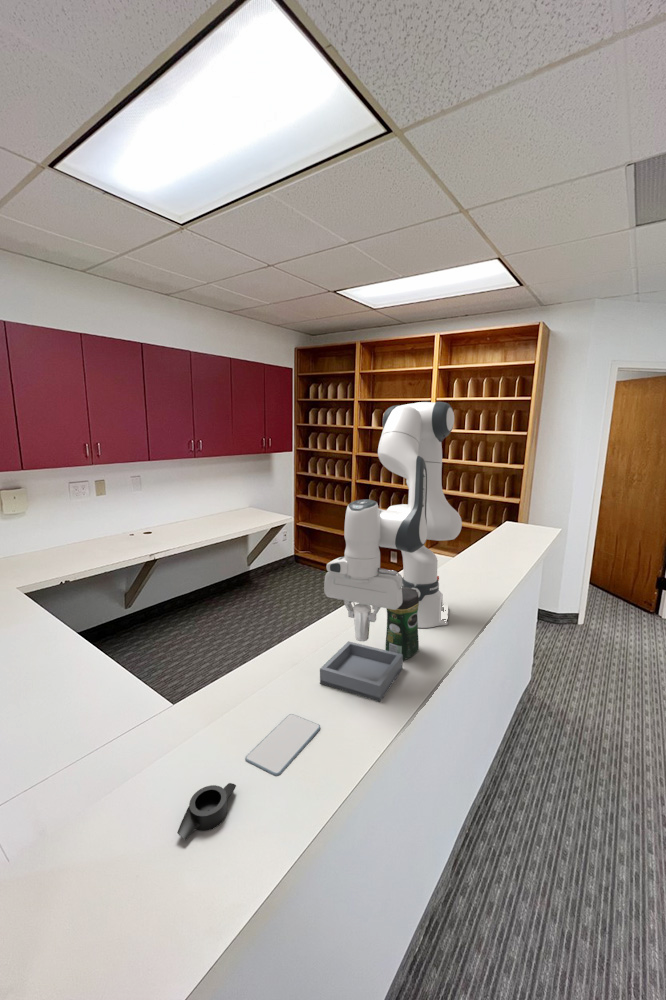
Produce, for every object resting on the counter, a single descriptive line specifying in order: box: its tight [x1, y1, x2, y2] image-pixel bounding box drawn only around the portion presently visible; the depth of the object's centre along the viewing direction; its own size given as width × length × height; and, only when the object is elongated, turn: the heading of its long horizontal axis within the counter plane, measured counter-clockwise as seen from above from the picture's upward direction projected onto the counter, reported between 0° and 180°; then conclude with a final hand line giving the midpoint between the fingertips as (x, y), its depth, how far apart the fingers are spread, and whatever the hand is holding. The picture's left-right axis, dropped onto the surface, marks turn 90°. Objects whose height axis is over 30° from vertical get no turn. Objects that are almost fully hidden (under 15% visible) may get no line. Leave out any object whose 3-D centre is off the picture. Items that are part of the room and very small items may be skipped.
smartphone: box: [244, 713, 321, 777], centre depth 83 cm, size 8×1×15 cm
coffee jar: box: [384, 587, 420, 661], centre depth 116 cm, size 10×8×19 cm
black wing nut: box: [177, 782, 237, 841], centre depth 67 cm, size 8×10×3 cm
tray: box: [319, 641, 404, 703], centre depth 106 cm, size 16×16×4 cm
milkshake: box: [352, 602, 372, 642], centre depth 104 cm, size 4×5×10 cm
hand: (362, 619), depth 104 cm, fingers closed on milkshake, 4 cm apart
